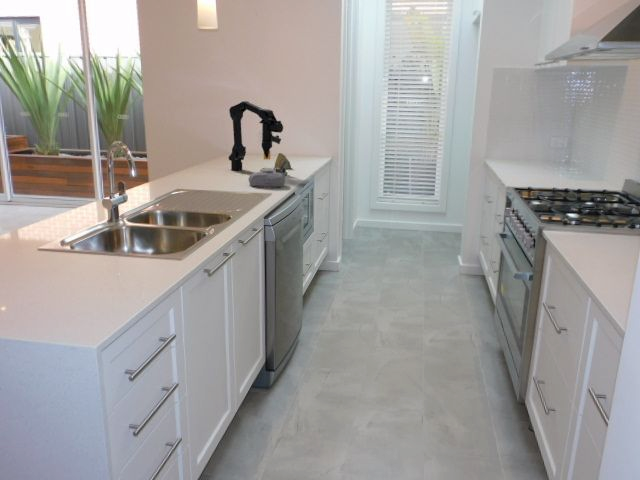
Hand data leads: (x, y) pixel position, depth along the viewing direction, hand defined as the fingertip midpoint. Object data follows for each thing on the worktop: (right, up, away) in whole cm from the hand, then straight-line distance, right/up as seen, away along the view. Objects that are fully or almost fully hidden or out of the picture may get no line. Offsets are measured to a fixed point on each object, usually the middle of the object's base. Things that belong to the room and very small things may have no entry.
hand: (266, 157), depth 340 cm
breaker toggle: (+8, -7, +2) cm, 11 cm away
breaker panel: (+3, -9, +7) cm, 12 cm away
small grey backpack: (+3, -21, -33) cm, 39 cm away
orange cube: (0, -1, 0) cm, 1 cm away
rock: (+8, -3, +29) cm, 30 cm away
